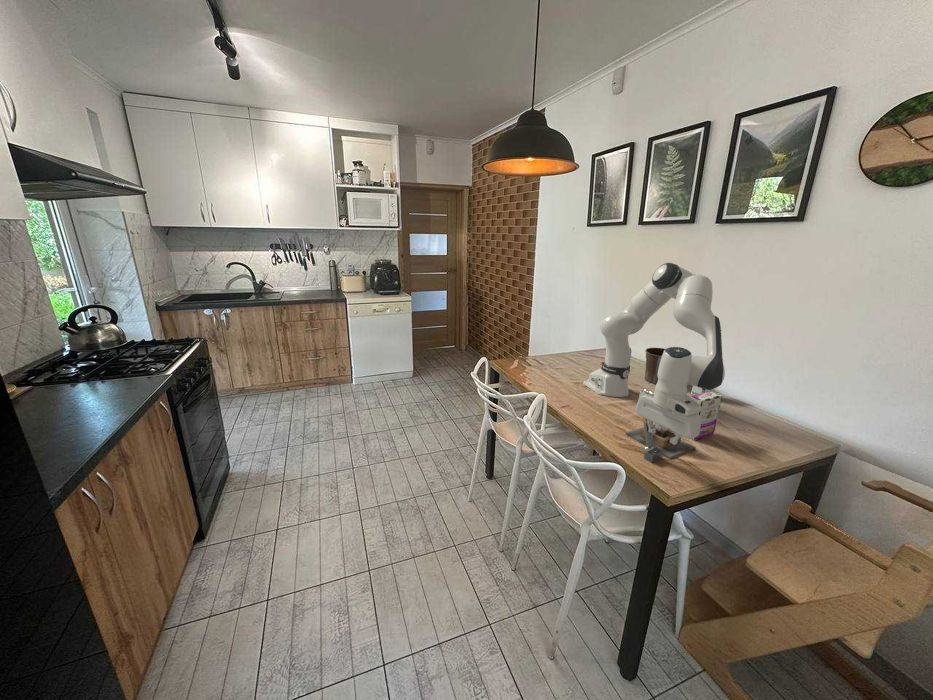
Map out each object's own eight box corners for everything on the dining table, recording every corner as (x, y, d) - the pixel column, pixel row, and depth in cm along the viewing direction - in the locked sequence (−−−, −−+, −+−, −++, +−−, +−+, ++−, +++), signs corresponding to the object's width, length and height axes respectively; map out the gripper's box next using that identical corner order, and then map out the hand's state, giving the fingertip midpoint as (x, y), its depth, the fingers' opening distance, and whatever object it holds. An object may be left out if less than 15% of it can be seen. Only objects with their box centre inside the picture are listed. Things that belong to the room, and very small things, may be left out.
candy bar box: (701, 429, 143) (710, 390, 139) (713, 435, 139) (723, 395, 134) (681, 434, 139) (690, 395, 134) (694, 441, 135) (703, 400, 130)
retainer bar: (645, 445, 124) (642, 416, 123) (651, 444, 125) (647, 415, 124) (648, 446, 122) (645, 417, 122) (654, 444, 124) (650, 415, 123)
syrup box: (690, 394, 176) (696, 366, 172) (697, 392, 179) (703, 364, 174) (702, 398, 171) (708, 369, 167) (709, 396, 174) (716, 367, 170)
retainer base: (641, 457, 124) (643, 447, 123) (651, 453, 126) (653, 443, 125) (651, 463, 121) (653, 453, 120) (661, 459, 123) (663, 449, 122)
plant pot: (674, 389, 181) (680, 358, 177) (639, 383, 189) (644, 353, 184) (675, 379, 195) (680, 350, 190) (642, 373, 203) (646, 345, 198)
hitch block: (625, 434, 139) (627, 424, 137) (650, 426, 145) (652, 417, 143) (669, 459, 123) (671, 448, 122) (695, 449, 129) (697, 439, 128)
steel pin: (650, 437, 135) (655, 408, 131) (658, 435, 136) (663, 406, 133) (660, 443, 131) (666, 413, 127) (668, 441, 133) (675, 411, 129)
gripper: (634, 388, 123) (628, 426, 126) (694, 413, 105) (685, 455, 109) (647, 386, 125) (641, 422, 129) (707, 409, 108) (698, 450, 112)
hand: (662, 437), depth 119 cm, fingers open, 6 cm apart
